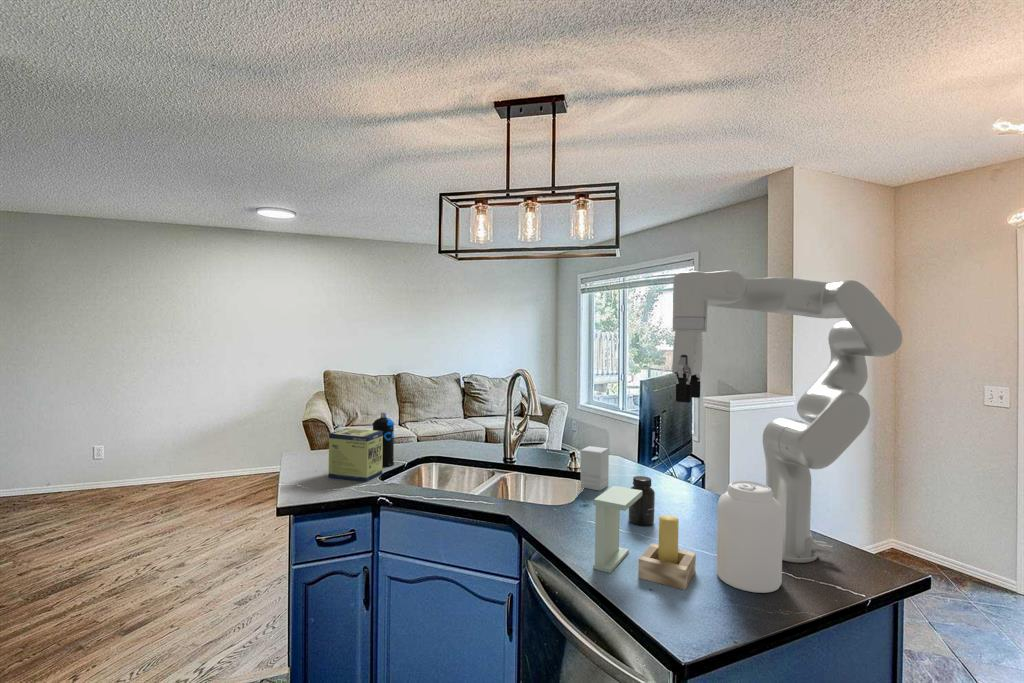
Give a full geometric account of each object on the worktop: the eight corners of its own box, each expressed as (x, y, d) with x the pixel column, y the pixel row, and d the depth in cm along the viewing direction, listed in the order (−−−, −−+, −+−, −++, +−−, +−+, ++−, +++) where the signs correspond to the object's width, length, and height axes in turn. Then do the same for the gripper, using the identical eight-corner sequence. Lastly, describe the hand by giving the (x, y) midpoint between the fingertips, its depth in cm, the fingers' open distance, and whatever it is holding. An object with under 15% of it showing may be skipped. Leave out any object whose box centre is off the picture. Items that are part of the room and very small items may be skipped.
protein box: (367, 482, 174) (367, 436, 174) (327, 478, 179) (327, 433, 178) (383, 474, 184) (383, 430, 184) (345, 470, 189) (345, 427, 188)
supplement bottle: (655, 527, 137) (655, 482, 137) (628, 525, 138) (629, 480, 138) (653, 518, 144) (654, 475, 143) (628, 516, 145) (628, 473, 145)
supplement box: (609, 485, 174) (609, 448, 173) (600, 491, 167) (601, 452, 167) (588, 482, 178) (589, 445, 177) (579, 487, 171) (580, 449, 171)
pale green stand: (641, 555, 120) (642, 490, 119) (623, 576, 109) (625, 505, 109) (612, 548, 123) (613, 485, 123) (592, 568, 113) (594, 499, 113)
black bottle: (368, 466, 193) (368, 413, 193) (377, 461, 201) (377, 410, 201) (389, 468, 192) (389, 414, 191) (397, 462, 200) (397, 411, 200)
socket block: (695, 571, 112) (695, 553, 112) (685, 590, 104) (685, 570, 104) (651, 560, 117) (651, 543, 117) (638, 577, 109) (638, 558, 109)
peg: (660, 568, 113) (661, 514, 113) (679, 573, 111) (680, 517, 111) (655, 575, 110) (656, 519, 110) (674, 580, 108) (676, 523, 108)
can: (750, 599, 101) (752, 497, 100) (703, 571, 112) (705, 480, 112) (795, 587, 106) (797, 490, 105) (745, 562, 117) (747, 474, 117)
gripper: (681, 325, 128) (680, 394, 129) (663, 324, 114) (661, 402, 114) (713, 326, 124) (712, 397, 125) (698, 325, 110) (697, 405, 110)
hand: (688, 399), depth 119 cm, fingers open, 9 cm apart
